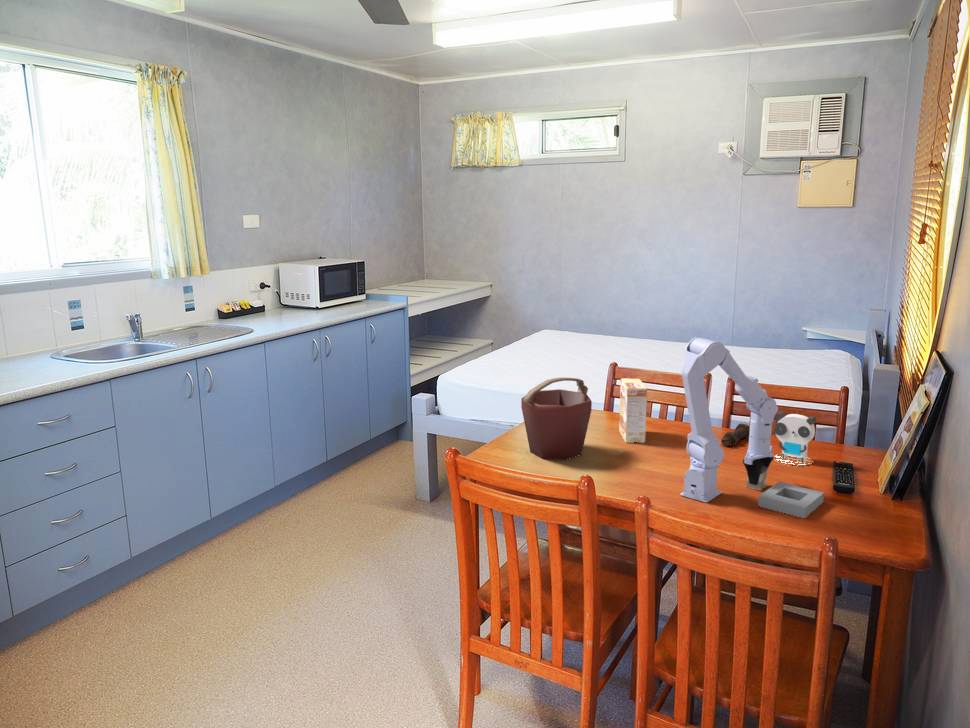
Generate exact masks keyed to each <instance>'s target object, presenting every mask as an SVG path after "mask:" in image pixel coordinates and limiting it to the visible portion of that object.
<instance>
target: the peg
mask: <svg viewBox="0 0 970 728" xmlns="http://www.w3.org/2000/svg"><path fill="white" fill-rule="evenodd" d="M746 475H747V476H746V488H747V487H748V488H747V489H751V488H752V490H755V489H756V490H755V491H758V490H760V491H762V490H764V489H765V488H767V478H768V470H767V467H764V466H763V468H762V470H761V472H760V476H759V481H758V484H757V485H753V484H750V483H749V479H748V474H746ZM763 488H764V489H763ZM760 491H759V492H760Z"/></svg>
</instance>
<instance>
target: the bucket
mask: <svg viewBox="0 0 970 728" xmlns="http://www.w3.org/2000/svg"><path fill="white" fill-rule="evenodd" d="M563 381H565V382H566V381H569V382H571V381H572V382H576V386H577V391H573V390H566V389H559V388H558V389H545V388H546V387H548V386H551V384H553V383H558V382H563ZM543 389H545V390H543ZM588 391H589V387H587V385H585V382H584V380H582V379H581V378H576V377H562V376H561V377H553V378H549V379H546V380H544V381H541V382H540V383H539V384H537V385H536V386H535V387H533V388H531V389H529V390H528V392H527V393H526V395H524V396H523V397H521V400H520V401H521V402H520V405H521V412H522V417H523V421H524V422H523V423H524V427H525V431H526V437H527V442H528V448H529V452H530V453H531V454H533V455H535V456H537V457H538V458H540V459H542V460H551V461H552V460H554V461H555V460H558V461H567V459H568V460H570V459H569V458H571V459H573V458H572V457H574V458H576V457H575V456H577V457H579V456H578V455H580V456H582V454H583V448H584V445H585V440H586V438H587V437H586V436H587V431H588V427H589V423H590V419H591V415H592V414H591V413H592V406H593V405H592V404H593V403H592V399H591V398H590V396H589V395H588Z"/></svg>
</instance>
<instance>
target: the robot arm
mask: <svg viewBox="0 0 970 728" xmlns="http://www.w3.org/2000/svg"><path fill="white" fill-rule="evenodd" d="M684 353H685V357H684V361H683V365H682V369H681V377H682V382H683V383H682V384H683V389H684V394H685V401H686V407H687V411H688V413H687V414H688V417H689V423H690V429H691V431H690V433H688V434H687V443H686V453H687V454H688V455H689V460H690V466H689V469H687V471H686V472H685V473H684V478H683V479H684V480H683V491H682V492H680V494H679V495H680V496H682V497H684V498H685V497H686V498H689V499H693V500H696V501H700V502H702V503H703V502H704V503H708V502H710V501H711V500H714V499H715V498H717V497H718V496H720V495H721V494H722V493H723V491H721V490H717V485H718V484H717V482H718V468H719V467H720V466H719V465H721V464H722V462H723V460H724V456H725V453H724V449H723V448H722V446H721V445H720V441H719V438H718V437H717V436H716V433H715V432H714V430H713V426H712V420H711V414H710V407H709V402H708V396H707V389H706V384H705V377H706V375H708V374H709V373H710V372H712V371H713V370H714V369H715V368H717V367H718V366H719V367H720V368H721V370H722V371H724V372H725V374H726V375H728V377H729V378H730V379H731V380H732V381H733V382H734V383H735V385H734V389H735V391H736V392H737V394H739V396H740V397H741V398H742V400H744V401H745V404H746V409H747V410H748V411H750V418H749V419H750V422H749V427H750V433H749V437H748V445H747V446H748V447H747V450H746V455H745V456H744V458H743V459H742V464H743V465H744V468H745V470H746V473H747V474H748V479H749V483H750V484H753V485H757V484H758V481H759V476H760V472H761V470H762V468H763V466H764V467H767V471H768V470H769V467H770V465H771V463H772V462H773V460H774V457H775V453H774V452H773V445H771V441H772V428H773V422H774V420H775V419H774V417H775V415H776V414H778V413H777V412H778V410H779V406H778V404H777V401H776V400H775V399H774V398H772V397H770V396H768V391H767V390H766V389H763V388H762V386H761V385H760V384H759V383H758V382H759V379H758V378H757V377H754V376H751V375H746V374H745V372H744V371H743V369H742V368H741V367H740V366H739V364H738V363H737V361H736V360H735V359H734V358H733V356H732V354H731V353H730V350H729V349H728V348H727V347H726V346H725V345H724V343H722V342H721V341H715V340H711V339H707V338H705V337H702V336H695V337H693V338H692V339H690V341H689V342H688V343H687V345H686V346H685V347H684ZM747 474H746V475H747Z"/></svg>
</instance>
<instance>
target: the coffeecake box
mask: <svg viewBox="0 0 970 728" xmlns="http://www.w3.org/2000/svg"><path fill="white" fill-rule="evenodd" d="M619 392H620V393H619V394H620V395H619V399H620V400H619V425H618V428H619V429H618V431H619V433H620V434H621V437H622V438H623V440H624V442H625V443H626V442H627V443H626V444H635V443H634V442H637V443H636V444H645V443H646V425H647V403H648V401H647V397H648V396H647V395H648V387H646V385H645V384H644V382H642V380H641V379H640V378H626V377H625V378H620V391H619ZM628 442H629V443H628ZM638 442H639V443H638Z"/></svg>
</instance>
